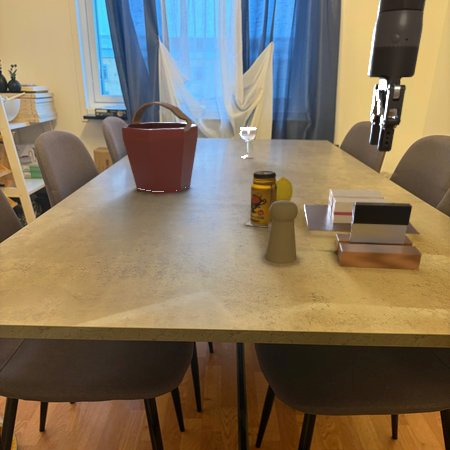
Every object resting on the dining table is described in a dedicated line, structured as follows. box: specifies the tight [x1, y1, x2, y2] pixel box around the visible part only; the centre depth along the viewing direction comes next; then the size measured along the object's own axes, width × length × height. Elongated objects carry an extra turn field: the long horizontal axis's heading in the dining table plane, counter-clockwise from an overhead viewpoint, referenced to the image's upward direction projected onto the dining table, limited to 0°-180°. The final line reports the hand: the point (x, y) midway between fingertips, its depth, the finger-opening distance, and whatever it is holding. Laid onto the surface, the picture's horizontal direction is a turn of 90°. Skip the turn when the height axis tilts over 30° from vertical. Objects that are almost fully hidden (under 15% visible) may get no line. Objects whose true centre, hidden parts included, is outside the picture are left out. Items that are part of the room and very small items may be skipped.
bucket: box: [121, 101, 199, 195], centre depth 132 cm, size 24×22×25 cm
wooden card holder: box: [334, 233, 422, 271], centre depth 83 cm, size 14×10×3 cm
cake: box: [327, 188, 385, 216], centre depth 107 cm, size 12×7×5 cm, turn 83°
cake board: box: [303, 204, 420, 235], centre depth 105 cm, size 24×22×1 cm
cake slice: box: [331, 198, 390, 223], centre depth 101 cm, size 12×4×5 cm, turn 83°
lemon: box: [276, 176, 294, 201], centre depth 116 cm, size 6×6×8 cm
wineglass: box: [239, 126, 257, 159], centre depth 188 cm, size 7×7×12 cm
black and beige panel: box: [349, 202, 413, 246], centre depth 82 cm, size 10×2×11 cm, turn 83°
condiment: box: [244, 170, 277, 228], centre depth 102 cm, size 7×8×12 cm
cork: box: [264, 200, 299, 265], centre depth 82 cm, size 6×6×11 cm
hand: (379, 147), depth 79 cm, fingers open, 8 cm apart
